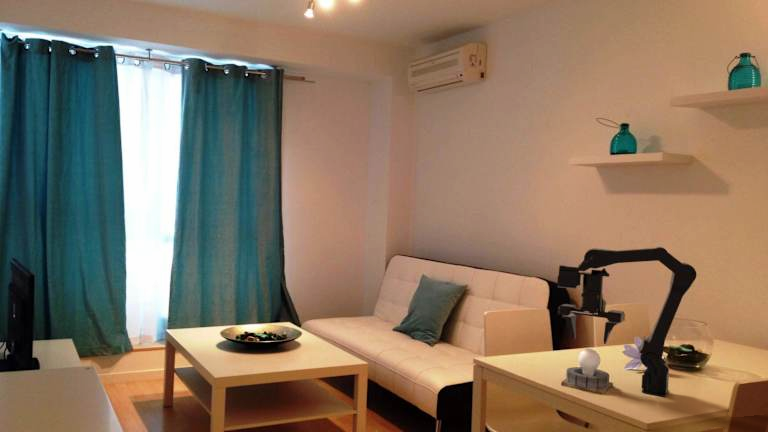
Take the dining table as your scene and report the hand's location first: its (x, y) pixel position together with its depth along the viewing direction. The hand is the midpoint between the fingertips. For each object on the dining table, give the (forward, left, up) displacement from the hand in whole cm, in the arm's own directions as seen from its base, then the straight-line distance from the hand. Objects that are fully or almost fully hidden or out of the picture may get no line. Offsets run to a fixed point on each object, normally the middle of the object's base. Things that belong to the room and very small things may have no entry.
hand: (589, 341), depth 200 cm
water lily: (-9, -30, -13) cm, 34 cm away
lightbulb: (-1, +2, -13) cm, 13 cm away
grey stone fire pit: (-1, +2, -13) cm, 13 cm away
